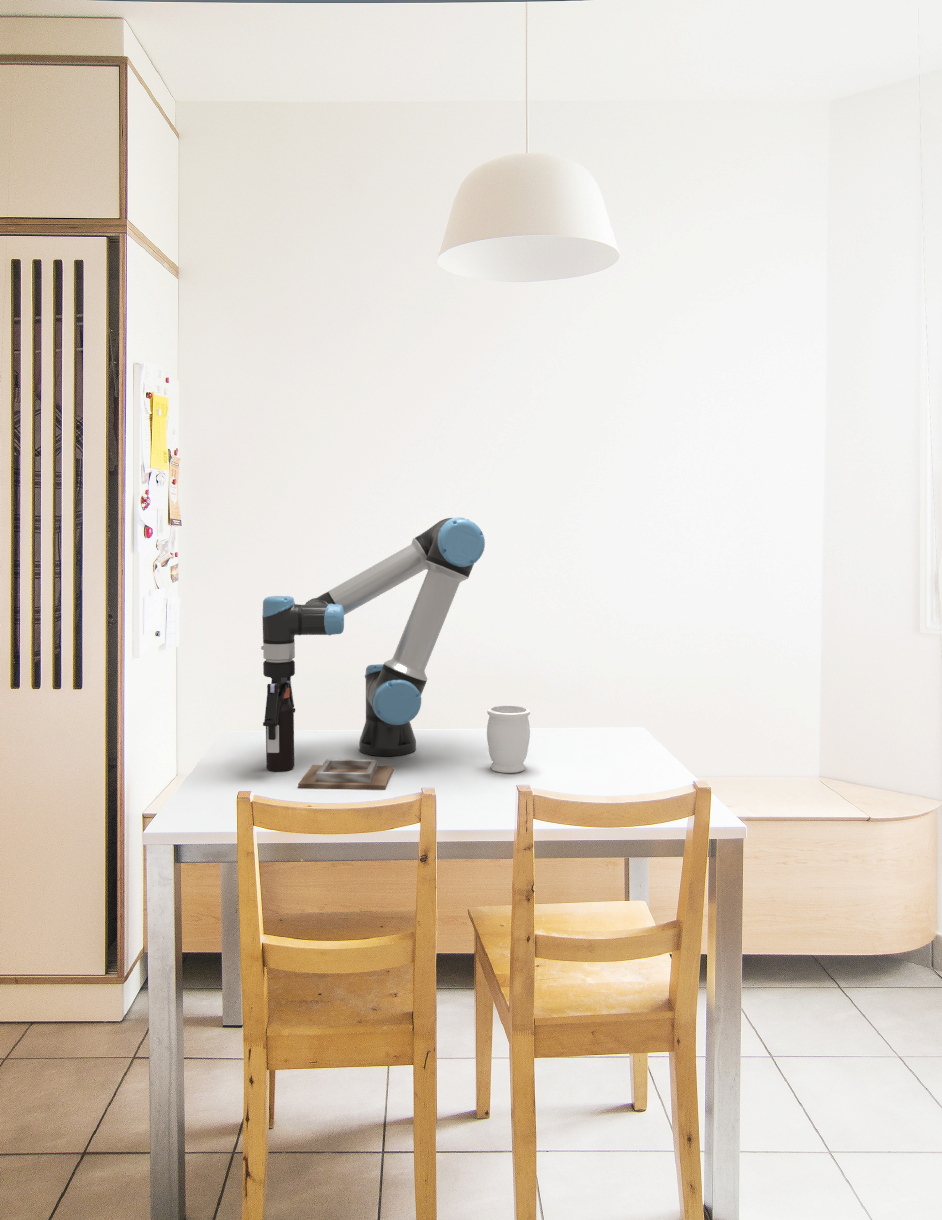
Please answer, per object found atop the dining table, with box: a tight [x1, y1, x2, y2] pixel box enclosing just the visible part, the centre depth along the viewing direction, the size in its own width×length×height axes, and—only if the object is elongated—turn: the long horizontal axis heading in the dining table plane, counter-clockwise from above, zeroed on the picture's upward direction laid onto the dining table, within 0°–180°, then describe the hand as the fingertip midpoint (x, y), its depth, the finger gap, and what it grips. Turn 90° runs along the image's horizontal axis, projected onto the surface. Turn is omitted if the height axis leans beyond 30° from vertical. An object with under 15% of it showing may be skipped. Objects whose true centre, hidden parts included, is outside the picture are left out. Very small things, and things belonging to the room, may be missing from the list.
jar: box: [486, 705, 531, 774], centre depth 227 cm, size 11×10×15 cm
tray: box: [297, 758, 395, 791], centre depth 218 cm, size 20×16×3 cm
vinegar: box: [265, 687, 295, 773], centre depth 226 cm, size 7×7×20 cm
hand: (280, 745), depth 227 cm, fingers open, 13 cm apart
